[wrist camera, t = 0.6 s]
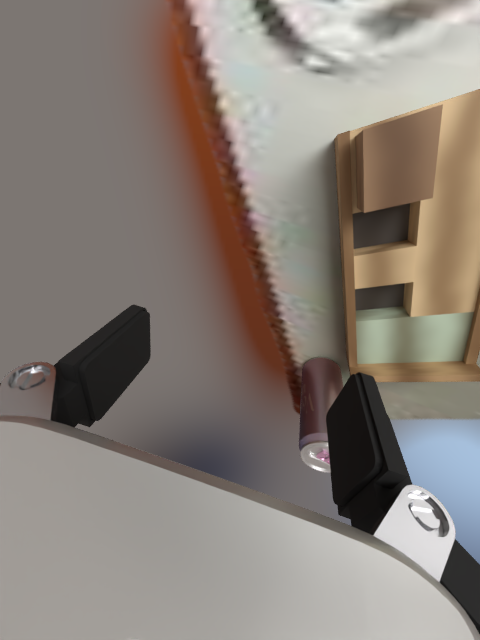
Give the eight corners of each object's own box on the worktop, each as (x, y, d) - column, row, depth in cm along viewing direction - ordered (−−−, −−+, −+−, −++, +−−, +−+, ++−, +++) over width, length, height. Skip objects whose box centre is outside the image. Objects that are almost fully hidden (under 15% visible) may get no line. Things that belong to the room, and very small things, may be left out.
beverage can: (325, 388, 41) (331, 480, 29) (295, 371, 41) (288, 457, 29) (348, 367, 38) (367, 461, 26) (316, 349, 38) (319, 435, 25)
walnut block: (421, 115, 20) (443, 104, 17) (415, 194, 23) (432, 197, 19) (355, 136, 22) (363, 129, 18) (356, 207, 24) (364, 212, 21)
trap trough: (516, 80, 20) (578, 52, 15) (459, 352, 32) (483, 381, 28) (334, 139, 24) (339, 131, 20) (346, 356, 37) (351, 382, 33)
